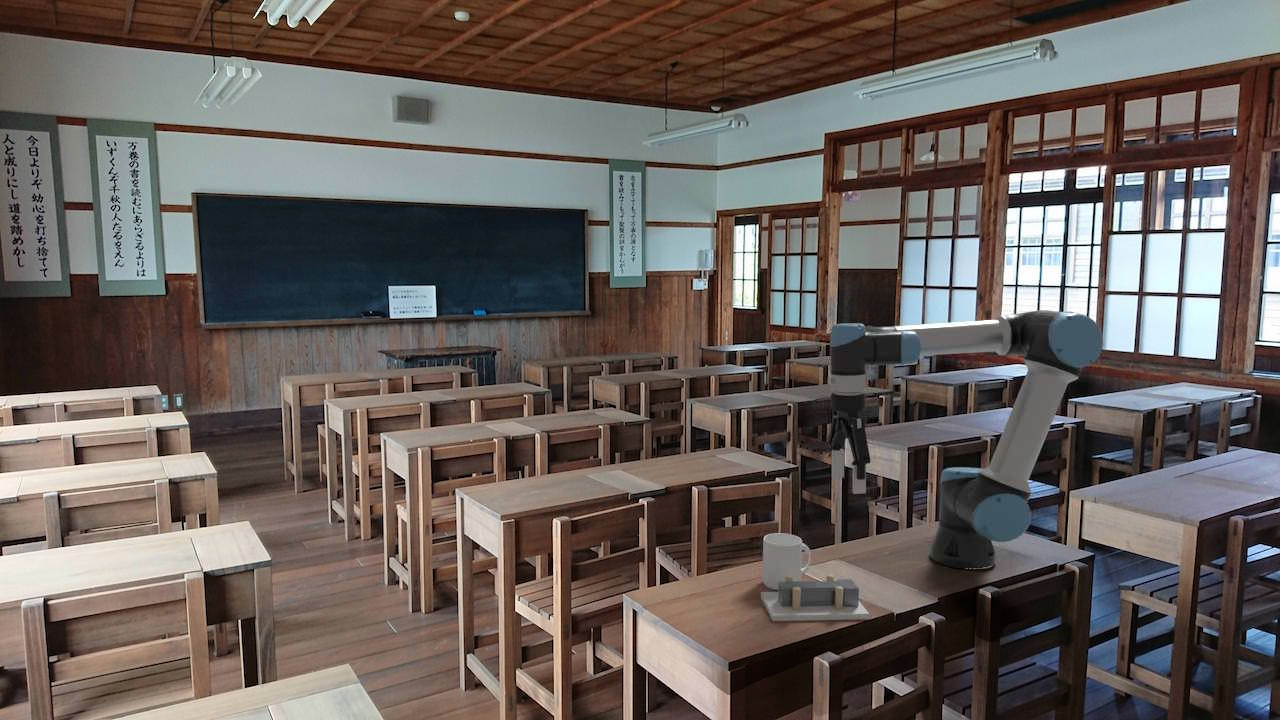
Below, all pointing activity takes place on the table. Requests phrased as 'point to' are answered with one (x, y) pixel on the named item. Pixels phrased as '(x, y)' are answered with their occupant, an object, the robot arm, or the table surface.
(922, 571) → the table surface
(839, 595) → the rack
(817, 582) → the grey bar
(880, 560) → the table surface
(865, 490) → the robot arm
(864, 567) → the table surface
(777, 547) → the mug
